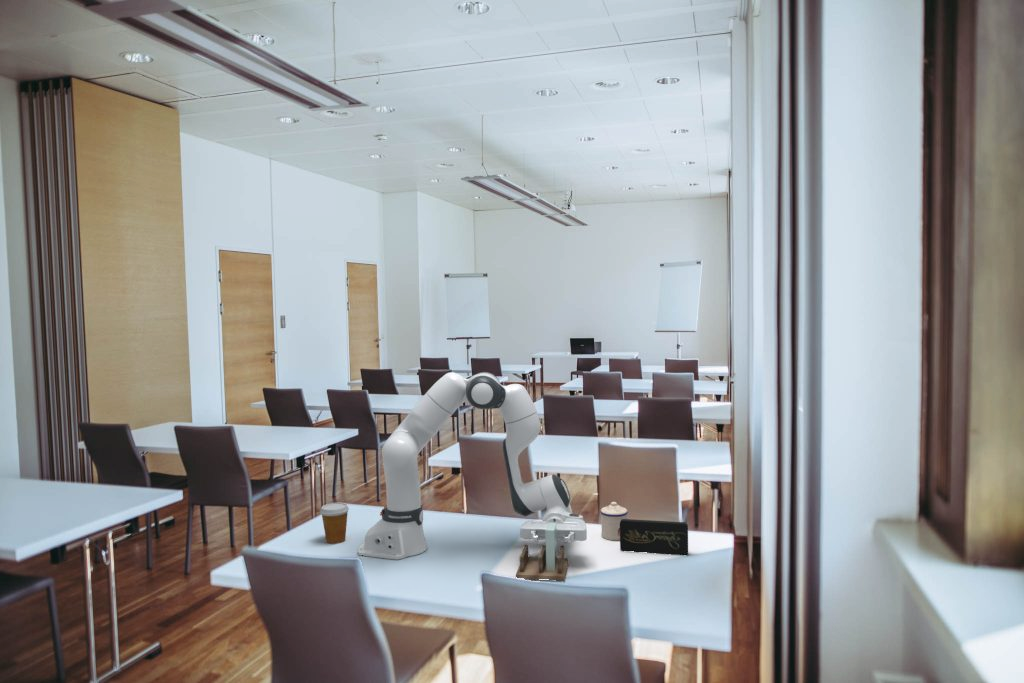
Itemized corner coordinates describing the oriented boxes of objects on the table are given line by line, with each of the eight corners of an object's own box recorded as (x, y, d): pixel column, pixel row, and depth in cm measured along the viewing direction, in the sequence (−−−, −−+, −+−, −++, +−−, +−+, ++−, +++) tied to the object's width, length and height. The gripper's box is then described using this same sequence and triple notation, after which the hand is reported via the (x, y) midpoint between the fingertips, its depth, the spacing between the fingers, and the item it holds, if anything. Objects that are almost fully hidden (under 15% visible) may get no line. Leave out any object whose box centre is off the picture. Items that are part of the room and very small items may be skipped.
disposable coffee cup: (350, 543, 227) (348, 508, 227) (321, 546, 225) (319, 511, 224) (349, 534, 237) (348, 501, 236) (321, 537, 234) (320, 503, 234)
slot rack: (515, 579, 194) (515, 559, 193) (523, 561, 207) (522, 542, 207) (564, 581, 191) (563, 560, 191) (568, 563, 205) (568, 543, 205)
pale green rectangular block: (546, 570, 196) (545, 530, 195) (549, 561, 202) (548, 522, 202) (555, 571, 195) (554, 530, 195) (557, 562, 202) (556, 522, 201)
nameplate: (688, 553, 210) (687, 522, 210) (688, 556, 208) (687, 524, 208) (620, 549, 216) (620, 518, 215) (620, 551, 214) (619, 520, 213)
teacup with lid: (622, 542, 221) (621, 507, 221) (596, 538, 226) (596, 504, 225) (634, 531, 232) (634, 498, 231) (610, 528, 236) (609, 495, 236)
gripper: (522, 513, 213) (515, 528, 199) (587, 515, 209) (585, 530, 196) (523, 533, 213) (516, 549, 199) (588, 535, 210) (585, 551, 196)
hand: (551, 539), depth 197 cm, fingers open, 8 cm apart
